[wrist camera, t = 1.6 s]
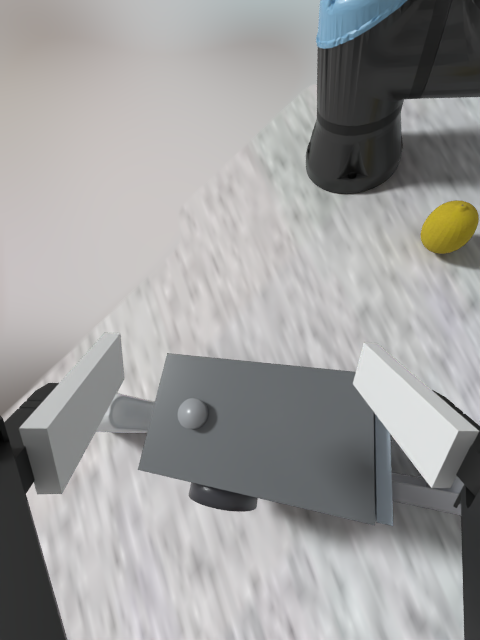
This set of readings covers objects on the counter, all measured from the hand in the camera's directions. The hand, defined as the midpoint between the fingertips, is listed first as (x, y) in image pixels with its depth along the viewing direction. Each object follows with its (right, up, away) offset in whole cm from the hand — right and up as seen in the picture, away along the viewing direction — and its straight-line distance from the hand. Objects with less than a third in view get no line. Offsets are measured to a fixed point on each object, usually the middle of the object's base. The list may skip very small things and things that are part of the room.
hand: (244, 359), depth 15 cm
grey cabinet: (+4, -12, +19) cm, 23 cm away
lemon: (+27, +12, +24) cm, 38 cm away
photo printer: (-15, -12, +25) cm, 32 cm away
